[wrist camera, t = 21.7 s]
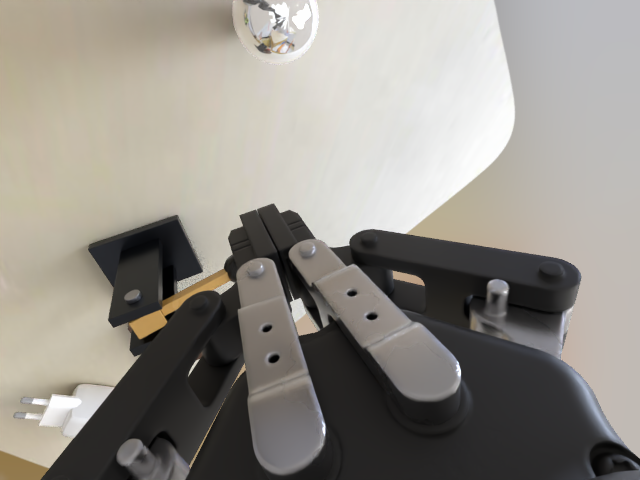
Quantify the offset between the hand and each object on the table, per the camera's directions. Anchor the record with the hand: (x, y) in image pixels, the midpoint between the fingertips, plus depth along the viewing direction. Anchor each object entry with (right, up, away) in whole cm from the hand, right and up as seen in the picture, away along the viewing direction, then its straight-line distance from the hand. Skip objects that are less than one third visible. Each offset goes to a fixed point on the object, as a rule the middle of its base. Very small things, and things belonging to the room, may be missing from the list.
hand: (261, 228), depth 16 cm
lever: (-11, -5, +23) cm, 26 cm away
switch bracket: (-18, -3, +29) cm, 35 cm away
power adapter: (-31, -21, +35) cm, 51 cm away
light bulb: (-4, +22, +22) cm, 31 cm away
